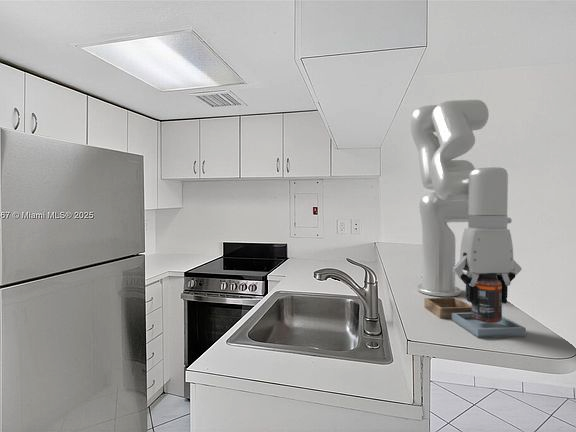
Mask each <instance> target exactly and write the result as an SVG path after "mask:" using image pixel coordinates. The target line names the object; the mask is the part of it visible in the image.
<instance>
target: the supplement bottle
mask: <svg viewBox="0 0 576 432" xmlns="http://www.w3.org/2000/svg"><path fill="white" fill-rule="evenodd" d="M496 276H497V274H496V273H488V274H479V277H478V279H477V282H476V284H475V286H476V287H478V303H477V304H472V303H471V306H472V317H473V318H474V319H476V320H479V321H482V322H488V323H496V322H500V321H501V319H502V316H503V303H502V283H501V281H499V280H498V279H497V278H496Z"/></svg>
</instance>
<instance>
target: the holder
mask: <svg viewBox="0 0 576 432" xmlns="http://www.w3.org/2000/svg"><path fill="white" fill-rule="evenodd" d="M423 304H424V306H423V307H424V308H425V309H426V310H427V311H429V312H430V313H432V314H433V315H434V316H435V317H437V318H439V319H452V313H470V312H472V304H471V305H470V304H468V303H467V302H465V301H463V300H461V299H459V298H457V297H456V296H452V297H428V298H427V297H425V298H424V303H423Z"/></svg>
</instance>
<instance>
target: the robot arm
mask: <svg viewBox="0 0 576 432" xmlns="http://www.w3.org/2000/svg"><path fill="white" fill-rule="evenodd" d="M489 112H490V111H489V109H488V106H487V104H486V103H485V102H484V101H482V100H481V99H459V100H458V99H457V100H454V99H453V100H446V101H443V102H440V103H439V104H430V105H423V106H420V107H418V108H416V109H414V110H413V112H412V113H411V116H410V132H411V136H412V140H413V142H414V145H415V146H416V150H417V152H418V159H419V169H420V170H419V171H420V177H421V178H420V179H421V182H422V183H421V184H422V186H423V188H425V189H426V190H429V191H430V190H431V191H434V192H430V193H429V192H428V193H426V194H424V195H423V196H422V197H421V198H420V201H419V204H418V205H419V207H418V208H419V214H420V218H421V228H422V229H421V230H422V231H421V234H422V235H421V236H422V263H421V264H422V265H421V267H422V272H421V273H422V275H421V279H422V282H421V283H420V284H418V285H417V287H416V289H417V291H418V292H419V293H422V294H425V295H428V296H434V297H442V298H451V297H456V296H459V295H461V293H462V290H461V288H459V287H458V286H456V276H457V277H458V278H459V279H460V280H461V281H462V282H463V283H464V284H465V299H466V301H467V302H469V303H471V305H472V304H477V303H478V287H476V286H475V284H476V282H477V279H478V277H479V274H488V273H496V274H497V276H496V278H497V279H498V280H499V281H501V283H502V304H507V303H508V286H510V285H511V283H512V281H513V280H514V279H515V278H516V276H517V275H518V274H520V273H521V271H522V270H523V269H522V266H520V264H518V263H517V262H516V260H515V259H514V247H513V240H512V234H511V230H510V229H508V224H511V223H512V221H513V220H512V218H511V217H508V204H509V203H508V199H509V197H508V194H509V193H508V192H509V191H508V188H509V185H508V184H509V176H508V175H509V174H508V170H506V169H505V168H503V167H499V166H497V167H495V166H493V167H492V166H491V167H478V168H476V167H475V166H474V164H473V163H472V162H471V161H469V160H465V159H456V158H459V157H461V156H463V155H465V154H466V153H468V152H469V151H471V149H472V148H473V147H474V146H475V143H476V137H475V134H474V132H473V131H480V130H481V129H483V128H484V127H485V126H486V125H487V123H488V122H489V121H488V120H489ZM435 133H436V134H435ZM449 223H468V224H467V228H464V229H463V232H462V233H463V234H462V237H461V243H460V248H459V249H460V251H459V261H458V262H456V235H455V233H454V231H453V230H452V229H451V228H450V227H449V225H448V224H449ZM463 271H464V272H463ZM465 271H466V273H465Z"/></svg>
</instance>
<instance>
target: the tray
mask: <svg viewBox="0 0 576 432" xmlns="http://www.w3.org/2000/svg"><path fill="white" fill-rule="evenodd" d="M451 321H452V322H453V323H455V324H457V325H458V326H460V327H461V328H462V329H464V330H465V331H467V332H469V333H470V334H471V335H473V336H474V337H476V338H477V339H485V338H486V339H490V338H518V337H519V338H521V337H527V335H526V334H527V330H526V327H524V326H522V325H520V324H519V323H516V322H514V321H513V320H511V319H509V318H507V317H505V316H503V315H502V319H501V321H500V322H496V323H488V322H482V321H479V320H476V319H474V318H473V317H472V312H470V313H452V318H451Z"/></svg>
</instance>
